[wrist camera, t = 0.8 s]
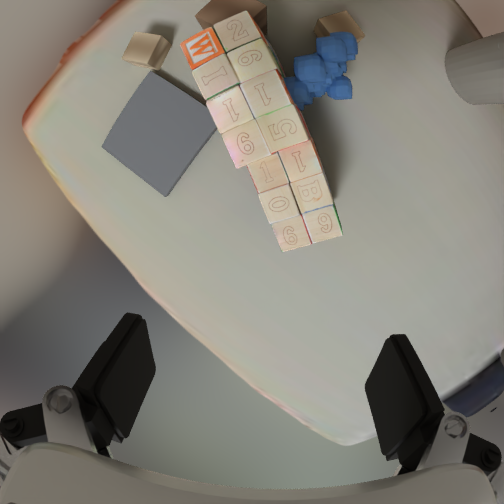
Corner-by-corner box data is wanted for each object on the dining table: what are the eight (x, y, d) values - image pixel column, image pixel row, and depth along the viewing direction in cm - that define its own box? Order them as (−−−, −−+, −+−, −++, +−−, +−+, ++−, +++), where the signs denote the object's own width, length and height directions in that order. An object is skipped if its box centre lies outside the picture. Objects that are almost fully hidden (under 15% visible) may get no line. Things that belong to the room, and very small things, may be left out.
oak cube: (338, 22, 23) (346, 10, 20) (355, 45, 25) (365, 35, 21) (313, 31, 24) (318, 18, 21) (330, 54, 25) (338, 44, 22)
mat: (153, 72, 27) (150, 70, 26) (224, 119, 30) (223, 118, 28) (105, 146, 31) (101, 146, 30) (168, 195, 34) (165, 197, 32)
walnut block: (235, 15, 24) (227, -14, 16) (267, 33, 25) (266, 5, 17) (210, 41, 26) (194, 15, 18) (241, 59, 27) (233, 36, 19)
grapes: (314, 136, 30) (312, 141, 20) (272, 100, 29) (247, 88, 19) (374, 74, 24) (402, 50, 14) (331, 38, 24) (337, -1, 13)
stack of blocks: (337, 207, 32) (346, 251, 21) (290, 221, 34) (275, 269, 23) (272, 46, 25) (246, 7, 14) (225, 66, 27) (177, 42, 16)
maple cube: (147, 40, 25) (135, 31, 22) (172, 45, 26) (161, 35, 22) (135, 65, 27) (121, 58, 23) (159, 70, 27) (147, 63, 24)
